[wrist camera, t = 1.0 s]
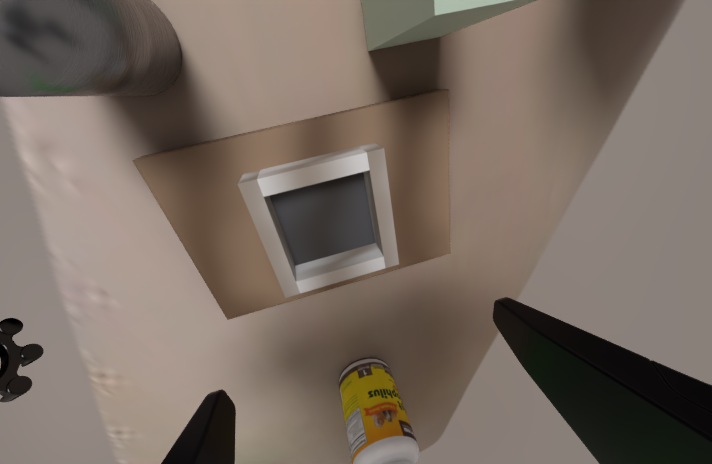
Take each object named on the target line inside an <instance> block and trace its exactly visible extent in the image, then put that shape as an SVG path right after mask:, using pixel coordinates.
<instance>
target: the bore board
mask: <svg viewBox="0 0 712 464" xmlns="http://www.w3.org/2000/svg"><path fill="white" fill-rule="evenodd" d="M133 162H134V164H135V165H136V167H137V169H138V170H139V172H140V174H141V175H142V177H143V179H144V180H145V182H146V184H147V185H148V187H149V189H150V190H151V192H152V194H153V195H154V197H155V199H156V200H157V202H158V204H159V205H160V207H161V209H162V210H163V212H164V214H165V216H166V217H167V219H168V221H169V222H170V224H171V226H172V227H173V229H174V231H175V232H176V234H177V236H178V237H179V239H180V241H181V242H182V244H183V246H184V247H185V249H186V251H187V252H188V254H189V256H190V257H191V259H192V261H193V262H194V264H195V266H196V268H197V269H198V271H199V273H200V274H201V276H202V278H203V279H204V281H205V283H206V284H207V286H208V288H209V289H210V291H211V293H212V294H213V296H214V298H215V299H216V301H217V303H218V304H219V306H220V308H221V309H222V311H223V313H224V314H225V316H226V318H227V320H228V319H232V318H235V317H238V316H242V315H245V314H248V313H252V312H255V311H258V310H262V309H265V308H268V307H272V306H275V305H279V304H282V303H285V302H289V301H292V300H295V299H299V298H302V297H305V296H309V295H312V294H315V293H319V292H322V291H325V290H329V289H332V288H336V287H339V286H342V285H346V284H349V283H352V282H356V281H359V280H362V279H366V278H369V277H372V276H376V275H379V274H382V273H386V272H389V271H393V270H396V269H399V268H403V267H406V266H409V265H413V264H416V263H419V262H423V261H426V260H429V259H433V258H436V257H439V256H443V255H446V254H449V253H451V252H450V175H449V98H448V89H443V90H435V91H430V92H426V93H421V94H417V95H412V96H408V97H404V98H399V99H395V100H390V101H386V102H381V103H377V104H372V105H368V106H364V107H359V108H355V109H350V110H346V111H341V112H337V113H332V114H328V115H324V116H319V117H315V118H310V119H306V120H301V121H297V122H292V123H288V124H284V125H279V126H275V127H270V128H266V129H261V130H257V131H252V132H248V133H244V134H239V135H235V136H230V137H226V138H221V139H217V140H212V141H208V142H204V143H199V144H195V145H190V146H186V147H181V148H177V149H172V150H168V151H164V152H159V153H155V154H150V155H146V156H142V157H140V158H138V159H135V160H133Z"/></svg>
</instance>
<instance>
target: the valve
mask: <svg viewBox="0 0 712 464" xmlns="http://www.w3.org/2000/svg"><path fill="white" fill-rule="evenodd" d="M22 328H23V323H22V322H21V321H20V320H18V319H15V318H8V319H5V320H3V321H1V322H0V358H1V368H0V394H1V395H2V396H3V397H2V398H1V399H0V402H9V401H12V400H14V399H16V398H17V397H19V396H21V395H23V394H24V393H26V392H27V391H28V390H30V388H31V386H32V381H31V379H30V378H28V377H26V376H18V374H17V370H18V368H19V365H20V364H22V365H21V366H22V367H23V366H26V365H28V364H30V363H32V362H33V361H35V360H37V359H38V358H40V357H41V356H42V354H43V348H42V347H41V346H40V345H38V344H29V345H26V346H24V347H20V346H17V345H16V344H15V343H14V341H13V340H12V337H13V335H15V334H17V333H18V332H20V331H21V330H22Z"/></svg>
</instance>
